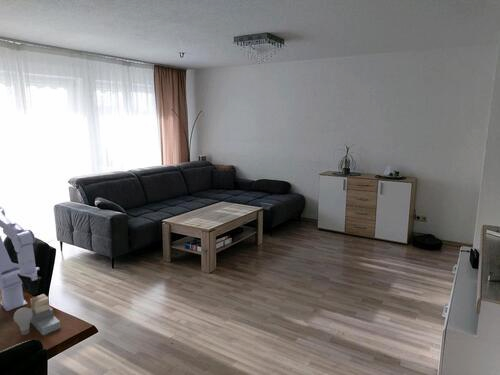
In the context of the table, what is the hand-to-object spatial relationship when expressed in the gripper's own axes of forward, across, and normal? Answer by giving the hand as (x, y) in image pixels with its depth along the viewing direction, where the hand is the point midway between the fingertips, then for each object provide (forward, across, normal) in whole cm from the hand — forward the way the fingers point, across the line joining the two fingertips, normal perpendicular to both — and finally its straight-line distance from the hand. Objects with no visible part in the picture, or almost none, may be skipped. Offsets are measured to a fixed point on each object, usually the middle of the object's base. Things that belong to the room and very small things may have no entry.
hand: (31, 291), depth 149 cm
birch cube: (+5, -9, 0) cm, 10 cm away
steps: (+11, -11, 0) cm, 15 cm away
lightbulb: (+11, -13, +7) cm, 18 cm away
